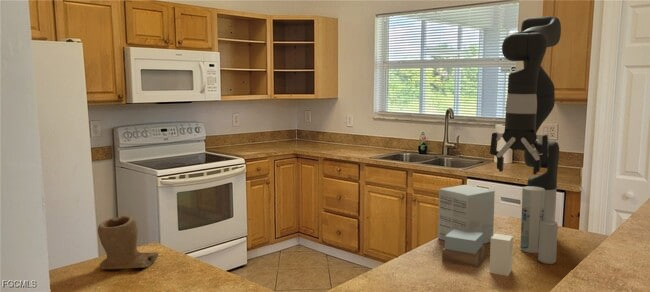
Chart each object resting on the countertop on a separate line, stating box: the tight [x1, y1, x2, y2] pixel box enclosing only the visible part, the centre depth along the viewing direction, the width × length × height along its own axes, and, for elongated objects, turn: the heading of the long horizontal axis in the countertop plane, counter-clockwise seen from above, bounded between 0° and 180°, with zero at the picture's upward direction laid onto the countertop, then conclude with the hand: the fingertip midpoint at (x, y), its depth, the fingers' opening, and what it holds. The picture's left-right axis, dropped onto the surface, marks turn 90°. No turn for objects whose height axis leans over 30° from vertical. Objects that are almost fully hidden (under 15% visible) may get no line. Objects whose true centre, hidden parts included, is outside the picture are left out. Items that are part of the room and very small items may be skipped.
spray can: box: [519, 185, 545, 254], centre depth 160 cm, size 6×6×20 cm
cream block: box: [489, 233, 514, 277], centre depth 142 cm, size 5×5×10 cm
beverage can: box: [537, 220, 559, 265], centre depth 150 cm, size 5×5×12 cm
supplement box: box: [437, 184, 496, 245], centre depth 171 cm, size 13×13×18 cm
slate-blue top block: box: [444, 229, 484, 254], centre depth 153 cm, size 9×9×4 cm
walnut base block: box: [441, 244, 486, 268], centre depth 153 cm, size 10×10×4 cm
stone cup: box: [97, 215, 159, 270], centre depth 147 cm, size 15×12×15 cm
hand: (517, 172), depth 134 cm, fingers open, 8 cm apart
